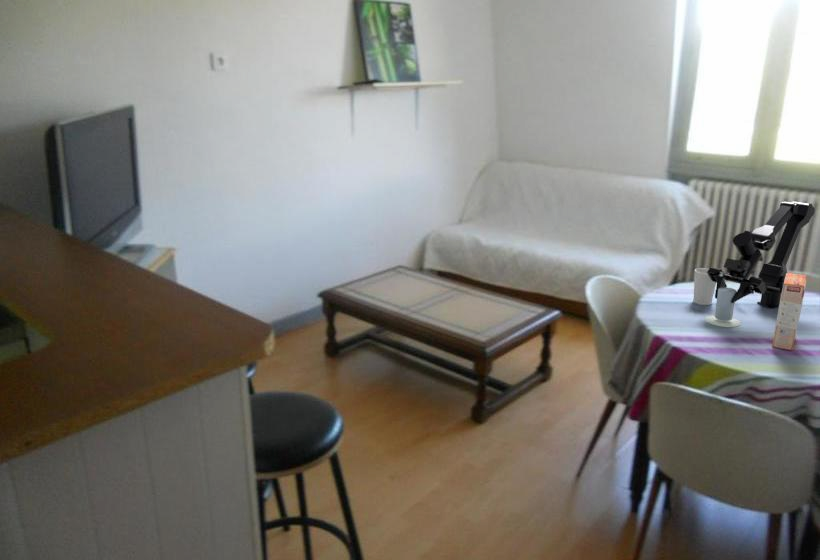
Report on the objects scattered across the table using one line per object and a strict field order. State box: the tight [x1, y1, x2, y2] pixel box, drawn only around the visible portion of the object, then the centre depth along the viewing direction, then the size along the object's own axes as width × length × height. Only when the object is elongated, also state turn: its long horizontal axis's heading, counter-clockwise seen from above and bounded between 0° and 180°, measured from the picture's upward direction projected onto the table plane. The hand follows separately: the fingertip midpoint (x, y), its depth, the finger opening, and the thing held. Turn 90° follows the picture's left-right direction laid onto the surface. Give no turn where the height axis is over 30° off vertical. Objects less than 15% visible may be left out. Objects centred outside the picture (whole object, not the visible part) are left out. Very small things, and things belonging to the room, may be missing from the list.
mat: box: [704, 315, 741, 328], centre depth 224 cm, size 11×11×1 cm
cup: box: [692, 267, 717, 306], centre depth 242 cm, size 8×8×12 cm
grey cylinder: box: [714, 286, 737, 321], centre depth 222 cm, size 6×6×10 cm
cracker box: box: [772, 272, 807, 352], centre depth 203 cm, size 14×6×21 cm, turn 148°
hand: (723, 300), depth 221 cm, fingers closed on grey cylinder, 5 cm apart
